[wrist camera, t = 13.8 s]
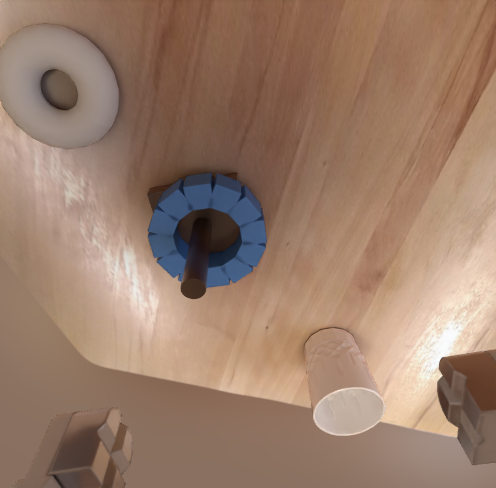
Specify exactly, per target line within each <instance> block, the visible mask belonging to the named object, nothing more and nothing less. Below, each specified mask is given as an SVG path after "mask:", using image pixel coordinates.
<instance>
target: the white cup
mask: <svg viewBox="0 0 496 488" xmlns="http://www.w3.org/2000/svg"><path fill="white" fill-rule="evenodd" d="M304 355H305V361H306V373H307V381H308V388H309V394H310V400H311V407H312V413H313V419H314V422H315V424H316V425H317V426H318V427H319V428H320V429H321V430H323V431H324V432H327V433H329V434H333V435H340V436H346V435H354V434H358V433H361V432H364V431H366V430H368V429H370V428H372V427H373V426H375V425H376V424H377V423H378V422H379V421H380V420H381V419H382V417H383V415H384V413H385V409H386V406H385V402H384V399H383V397H382V395H381V393H380V391H379V389H378V387H377V384H376V382H375V380H374V378H373V376H372V374H371V371H370V369H369V367H368V365H367V363H366V361H365V359H364V357H363V355H362V353H361V352H360V351H359V349H358V347H357V345H356V343H355V340H354V338H353V336H352V335H351V334H349V333H348V332H347V331H345V330H343V329H337V328H329V329H323V330H320V331H318V332H317V333H315V334H313V335H311V337H310V338H309V339H308V341H307V342H306V343H305V349H304Z"/></svg>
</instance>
